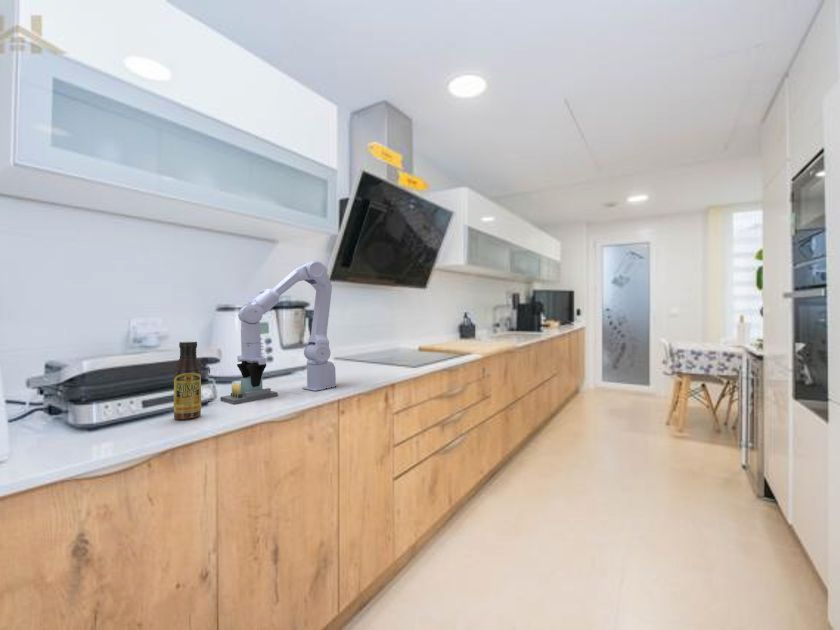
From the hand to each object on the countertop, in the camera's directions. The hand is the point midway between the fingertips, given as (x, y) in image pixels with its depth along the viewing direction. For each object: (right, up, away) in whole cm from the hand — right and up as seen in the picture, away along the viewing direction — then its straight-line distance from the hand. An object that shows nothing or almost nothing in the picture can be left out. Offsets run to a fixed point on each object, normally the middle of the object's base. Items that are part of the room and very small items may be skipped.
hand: (252, 385), depth 126 cm
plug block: (0, -3, 0) cm, 3 cm away
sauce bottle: (-7, -5, -22) cm, 24 cm away
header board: (-1, -4, -1) cm, 4 cm away
